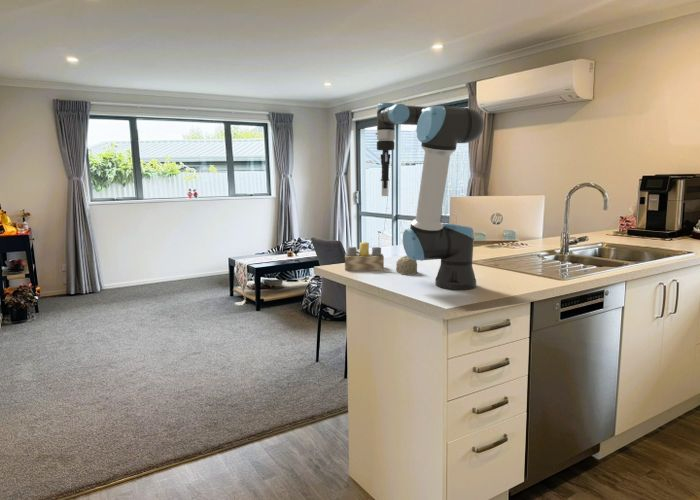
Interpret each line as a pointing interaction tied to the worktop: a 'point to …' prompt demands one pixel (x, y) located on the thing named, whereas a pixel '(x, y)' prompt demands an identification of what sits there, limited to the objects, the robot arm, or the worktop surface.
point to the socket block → (364, 262)
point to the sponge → (406, 266)
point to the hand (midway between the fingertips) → (384, 195)
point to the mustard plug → (364, 249)
